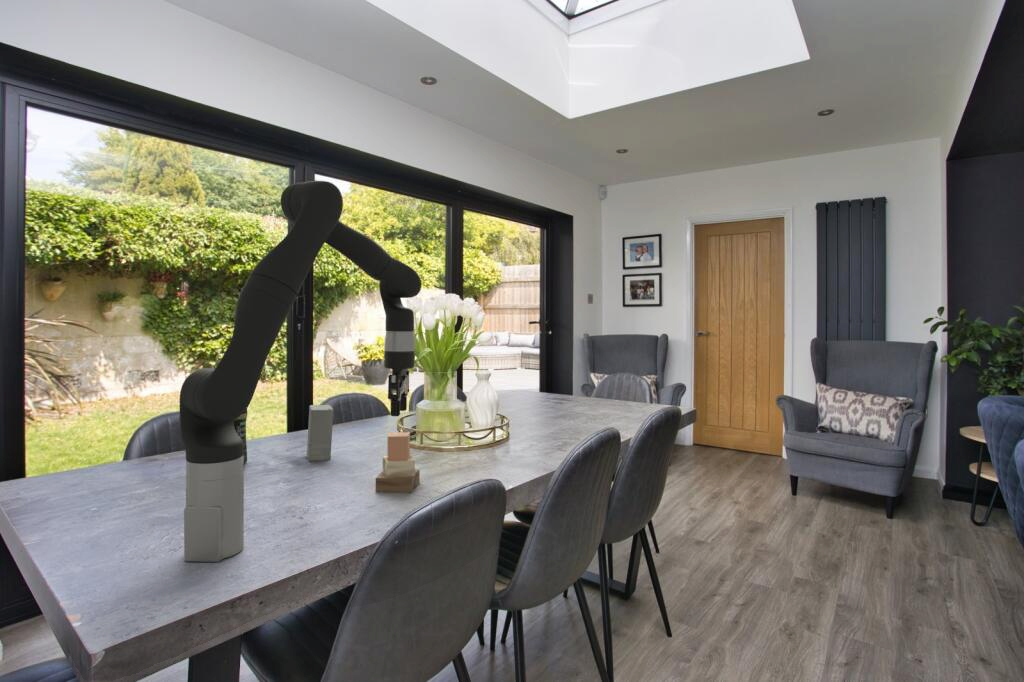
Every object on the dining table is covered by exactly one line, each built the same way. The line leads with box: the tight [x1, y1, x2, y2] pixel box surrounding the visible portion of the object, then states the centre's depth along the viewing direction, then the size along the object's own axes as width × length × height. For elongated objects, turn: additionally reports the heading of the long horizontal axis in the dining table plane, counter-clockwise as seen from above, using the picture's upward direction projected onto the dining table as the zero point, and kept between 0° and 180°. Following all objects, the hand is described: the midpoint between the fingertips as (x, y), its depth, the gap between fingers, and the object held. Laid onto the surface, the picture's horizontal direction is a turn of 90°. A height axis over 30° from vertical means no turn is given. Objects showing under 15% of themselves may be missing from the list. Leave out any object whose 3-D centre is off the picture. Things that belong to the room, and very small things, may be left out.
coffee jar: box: [233, 408, 248, 465], centre depth 158 cm, size 10×8×19 cm
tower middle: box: [382, 454, 416, 478], centre depth 141 cm, size 7×7×4 cm
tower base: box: [375, 468, 421, 494], centre depth 141 cm, size 9×9×4 cm
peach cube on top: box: [387, 431, 411, 460], centre depth 140 cm, size 5×5×6 cm
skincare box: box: [306, 404, 334, 462], centre depth 169 cm, size 8×7×16 cm
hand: (398, 413), depth 140 cm, fingers open, 8 cm apart
